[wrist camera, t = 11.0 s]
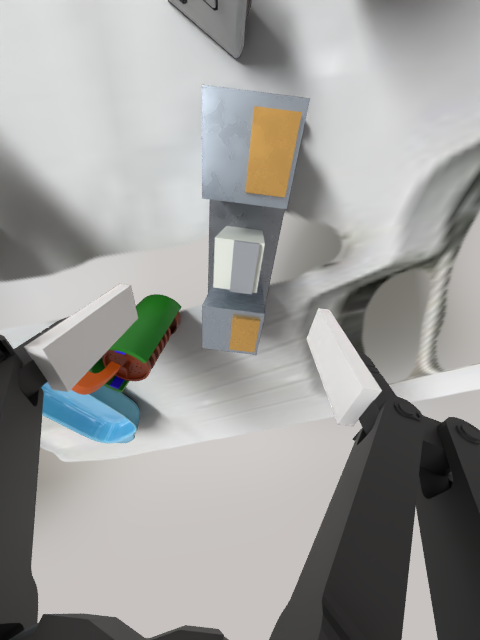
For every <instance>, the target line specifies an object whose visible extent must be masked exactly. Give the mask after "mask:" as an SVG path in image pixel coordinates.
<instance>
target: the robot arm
mask: <svg viewBox="0 0 480 640" xmlns="http://www.w3.org/2000/svg"><path fill="white" fill-rule="evenodd" d="M137 319H138V315H137V311H136V306H135V301H134V297H133V292H132V288H131V285H127V284H119V285H117V286H116V287H114V288H113V289H111V290H110V291H108V292H106V293H105V294H103V295H102V296H100V297H99V298H97V299H96V300H94V301H93V302H91V303H90V304H88V305H87V306H85V307H84V308H82V309H81V310H79V311H78V312H76V313H74V314H73V315H72V316H69V317H67V318H64V319H62V320H59V321H57V322H56V323H54V324H53V325H51V326H50V327H49V328H46V329H45V330H43V331H42V333H39V334H37V335H36V336H34V337H32V338H31V339H29V340H28V341H26V342H25V343H23V344H21V345H20V346H18V347H17V348H15V349H13V348H12V347H11V345H10V344H9V342H8V341H7V340H6V338H5V337H4V336H2V335H0V640H228V639H227V638H225V637H224V635H223V634H222V632H221V631H220V630H219V629H213V628H204V627H196V626H187V625H185V626H182V627H179V628H177V629H174V630H171V631H168V632H166V633H163V634H160V635H157V636H155V637H152V638H144V637H142V636H141V635H140V634H139V633H137V632H136V631H134V630H133V629H132V628H130V627H129V626H128V625H126V624H125V623H123V622H122V621H121V620H119V619H118V618H116V617H108V616H99V615H90V614H43V616H42V618H41V620H40V622H39V623H37V617H38V616H37V615H38V593H37V587H36V584H35V581H34V579H33V576H32V573H31V557H32V545H33V530H34V517H35V504H36V491H37V477H38V464H39V450H40V437H41V423H42V410H43V397H44V392H43V390H42V388H41V387H42V386H43V385H44V384H45V383H47V382H48V384H49V385H50V387H51V388H52V390H57V391H65V392H69V391H70V390H71V389H72V388H73V387H74V386H75V385H76V384H77V383H78V381H79V380H80V379H81V378H82V377H83V376H84V375H85V374H86V373H87V372H88V371H89V370H90V369H91V368H92V367H93V366H94V365H95V363H96V362H97V361H98V360H99V359H100V358H101V357H102V356H103V355H104V354H105V353H106V352H107V351H108V350H109V349H110V348H111V347H112V345H113V344H114V343H115V342H116V341H117V340H118V339H119V338H120V337H121V336H122V335H123V334H124V333H125V332H126V331H127V330H128V329H129V327H130V326H131V325H132V324H133V323H134V322H135V321H136V320H137ZM307 342H308V344H309V347H310V350H311V353H312V355H313V358H314V361H315V364H316V366H317V369H318V372H319V375H320V377H321V380H322V383H323V386H324V388H325V391H326V394H327V397H328V399H329V402H330V405H331V408H332V410H333V413H334V416H335V419H336V421H337V424H338V425H346V426H354V425H355V423H356V422H357V421H358V420H360V423H361V425H362V427H363V428H362V429H361V430H360V431H359V432H358V433H357V434H356V436H355V437H354V438H353V440H354V441H355V440H356V441H355V443H354V446H353V448H352V450H351V453H350V456H349V458H348V460H347V463H346V465H345V468H344V470H343V473H342V475H341V477H340V480H339V482H338V485H337V487H336V490H335V492H334V495H333V497H332V499H331V502H330V504H329V507H328V509H327V512H326V514H325V517H324V519H323V521H322V524H321V527H320V529H319V531H318V534H317V536H316V538H315V541H314V543H313V546H312V548H311V551H310V553H309V555H308V558H307V560H306V563H305V565H304V568H303V570H302V573H301V575H300V577H299V580H298V583H297V585H296V587H295V590H294V592H293V594H292V597H291V599H290V601H289V603H288V605H287V606H286V608H285V609H284V611H283V612H282V614H281V616H280V617H279V619H278V621H277V623H276V625H275V628H274V630H273V632H272V634H271V637H270V639H269V640H401V638H402V629H403V619H404V610H405V601H406V591H407V582H408V572H409V563H410V553H411V544H412V534H413V525H414V516H415V507H416V509H417V515H418V521H419V526H420V533H421V539H422V545H423V552H424V558H425V564H426V570H427V576H428V582H429V588H430V594H431V601H432V606H433V612H434V619H435V625H436V631H437V637H438V640H480V430H478V429H477V428H476V427H474V426H473V425H471V424H469V423H467V422H465V421H464V420H461V419H458V418H455V417H449V418H447V419H446V420H445V421H444V422H442V423H441V422H439V421H436V420H433V419H430V418H428V417H425V416H423V415H422V414H421V413H420V411H419V410H418V409H417V408H416V407H415V406H414V405H413V404H411V403H410V402H408V401H407V400H405V399H402V398H400V397H397V396H396V395H395V393H394V392H393V390H392V389H391V388H390V386H389V385H388V383H387V382H386V381H385V379H384V378H383V376H382V375H381V374H380V373H379V371H378V369H377V368H375V365H374V364H373V362H372V361H371V359H370V358H369V357H367V356H366V355H365V354H364V353H363V352H358V351H356V350H355V349H354V347H353V345H352V344H351V342H350V341H349V339H348V338H347V336H346V335H345V333H344V332H343V330H342V329H341V327H340V326H339V324H338V323H337V321H336V319H335V318H334V316H333V315H332V313H331V312H330V310H327V309H319V308H318V310H317V313H316V316H315V318H314V321H313V324H312V326H311V329H310V331H309V334H308V337H307Z"/></svg>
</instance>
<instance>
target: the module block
mask: <svg viewBox="0 0 480 640" xmlns="http://www.w3.org/2000/svg"><path fill="white" fill-rule="evenodd" d="M264 246H265V242H264V237H263V231H262V230H255V229H247V228H240V227H232V226H226V227H225V228H224V229H223V230H222V231H221V232H220V233H219V234H218V235H217V236H216V237H215V249H214V280H213V288H221V289H229V290H230V292H237V293H245V294H252V292H253V293H257V288H258V282H259V276H260V270H261V264H262V258H263V252H264Z"/></svg>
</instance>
